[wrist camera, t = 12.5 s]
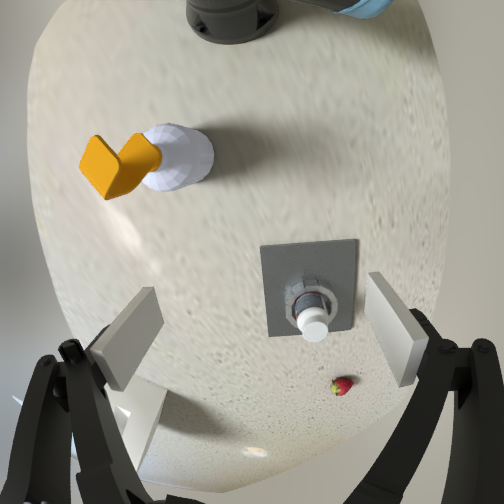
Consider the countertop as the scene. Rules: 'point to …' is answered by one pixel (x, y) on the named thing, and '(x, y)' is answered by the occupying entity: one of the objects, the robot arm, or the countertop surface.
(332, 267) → the duct plate
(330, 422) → the countertop surface
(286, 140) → the countertop surface
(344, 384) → the fruit
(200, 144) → the soap bottle
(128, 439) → the white toy house
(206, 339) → the countertop surface
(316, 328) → the pill bottle
